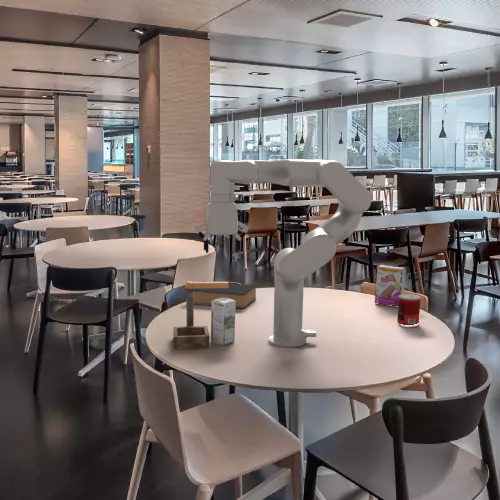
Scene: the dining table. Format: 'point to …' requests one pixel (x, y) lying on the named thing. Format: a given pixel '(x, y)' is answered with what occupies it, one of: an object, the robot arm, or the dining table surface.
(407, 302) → the canned food
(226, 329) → the syrup box
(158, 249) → the dining table surface
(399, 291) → the candy bar box
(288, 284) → the robot arm
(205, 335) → the holder
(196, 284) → the bar
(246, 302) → the book
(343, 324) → the dining table surface
